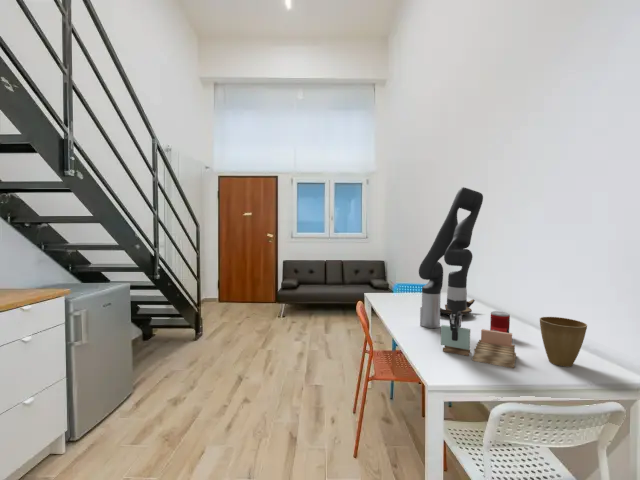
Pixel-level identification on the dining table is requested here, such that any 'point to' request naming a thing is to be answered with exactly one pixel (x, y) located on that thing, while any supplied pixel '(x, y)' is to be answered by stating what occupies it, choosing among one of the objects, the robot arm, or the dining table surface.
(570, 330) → the plant pot
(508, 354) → the rack
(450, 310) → the oil lamp
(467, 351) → the stand rails
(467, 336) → the green plate
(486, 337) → the pink rectangular slab
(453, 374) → the dining table surface
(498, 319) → the canned food
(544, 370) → the dining table surface
